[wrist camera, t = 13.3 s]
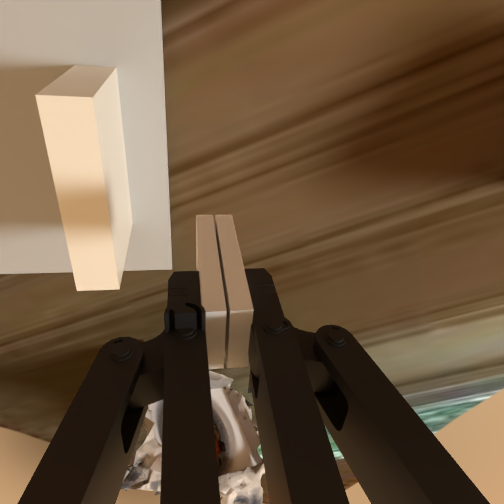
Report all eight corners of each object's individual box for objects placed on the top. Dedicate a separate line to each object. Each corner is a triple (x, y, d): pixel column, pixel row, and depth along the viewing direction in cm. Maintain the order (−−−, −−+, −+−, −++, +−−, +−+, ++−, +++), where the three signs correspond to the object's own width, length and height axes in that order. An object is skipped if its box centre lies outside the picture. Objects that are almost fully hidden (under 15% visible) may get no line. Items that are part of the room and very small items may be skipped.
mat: (-160, -47, 20) (-171, -49, 20) (159, -19, 23) (159, -19, 22) (-35, 268, 31) (-40, 275, 31) (172, 263, 34) (171, 269, 33)
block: (74, 65, 24) (35, 95, 17) (116, 67, 24) (92, 97, 18) (99, 223, 30) (76, 290, 23) (132, 223, 30) (119, 289, 24)
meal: (123, 362, 40) (102, 503, 29) (148, 337, 38) (136, 474, 28) (235, 410, 47) (251, 537, 36) (259, 390, 45) (284, 516, 35)
